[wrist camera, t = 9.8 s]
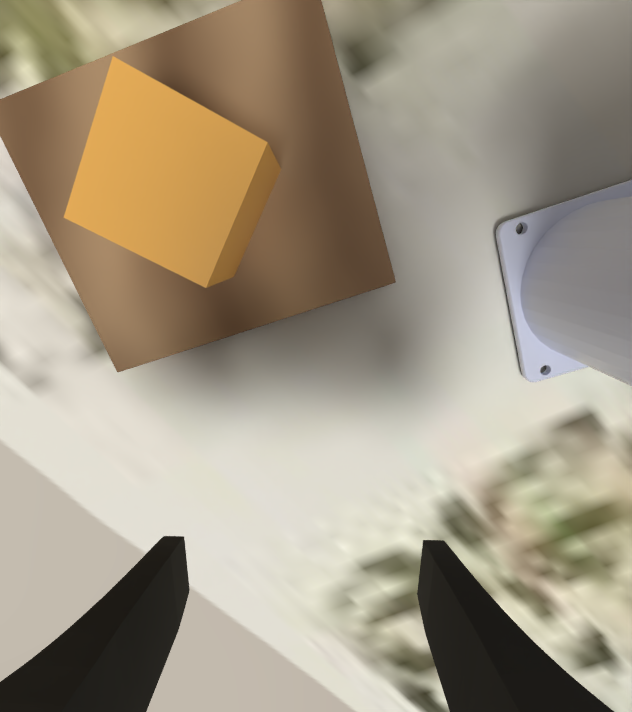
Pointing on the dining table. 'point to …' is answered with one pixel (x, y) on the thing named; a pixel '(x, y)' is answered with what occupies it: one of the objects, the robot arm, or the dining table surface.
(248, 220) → the mustard tilted cube
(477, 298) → the dining table surface
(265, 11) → the brown flat block
